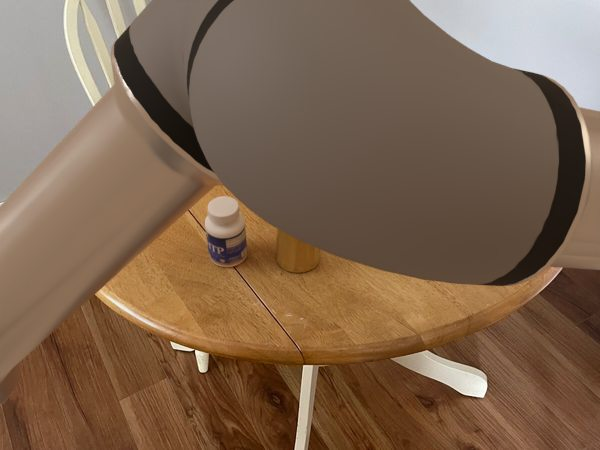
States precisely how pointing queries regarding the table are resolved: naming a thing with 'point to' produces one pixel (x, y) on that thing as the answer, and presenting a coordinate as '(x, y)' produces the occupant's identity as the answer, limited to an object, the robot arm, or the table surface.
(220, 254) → the pill bottle
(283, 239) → the vase
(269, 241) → the table surface
